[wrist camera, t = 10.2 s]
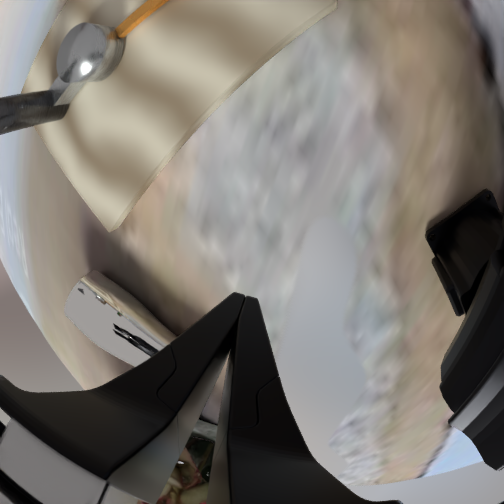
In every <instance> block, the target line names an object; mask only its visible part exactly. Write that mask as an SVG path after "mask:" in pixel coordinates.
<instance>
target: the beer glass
mask: <svg viewBox="0 0 504 504" xmlns="http://www.w3.org/2000/svg"><path fill="white" fill-rule="evenodd" d="M64 313H65V316H66V317H67V318H68V319H69V320H70V321H71V322H72V323H73V324H74V325H75V326H76V327H77V328H78V329H79V330H80V331H81V332H82V333H83V334H84V335H85V336H86V337H87V338H89V339H90V340H91V341H92V342H93V343H95V344H96V345H97V346H99V347H100V348H101V349H103V350H104V351H106V352H108V353H109V354H111V355H113V356H114V357H116V358H118V359H120V360H122V361H124V362H126V363H128V364H130V365H132V366H134V367H136V366H138V365H139V364H141V363H142V362H144V361H146V360H147V359H149V358H150V357H152V356H153V355H154V354H156V353H157V352H159V351H160V350H161V349H163V348H164V347H165V346H166V345H168V344H170V342H172V341H173V340H174V339H175V338H177V336H176V335H174V334H173V333H172V332H170V331H169V330H168V329H167V328H166V327H165V326H164V325H163V324H162V323H161V322H160V321H159V320H158V319H157V318H156V317H155V316H154V315H153V314H152V313H150V312H149V311H148V310H147V309H146V308H145V307H144V306H143V305H142V304H141V303H140V302H139V301H138V300H137V299H136V298H135V297H133V296H132V295H131V294H130V293H128V292H127V291H126V290H124V289H123V288H122V287H120V286H119V285H118V284H116V283H115V282H113V281H112V280H110V279H109V278H107V277H105V276H104V275H103V274H101V273H100V272H99V271H97V270H94V271H91V272H89V273H87V274H86V275H85V276H83V277H82V278H81V279H80V280H79V281H78V282H77V284H76V285H75V286H74V288H73V289H72V291H71V292H70V294H69V296H68V298H67V301H66V304H65V308H64Z"/></svg>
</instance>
